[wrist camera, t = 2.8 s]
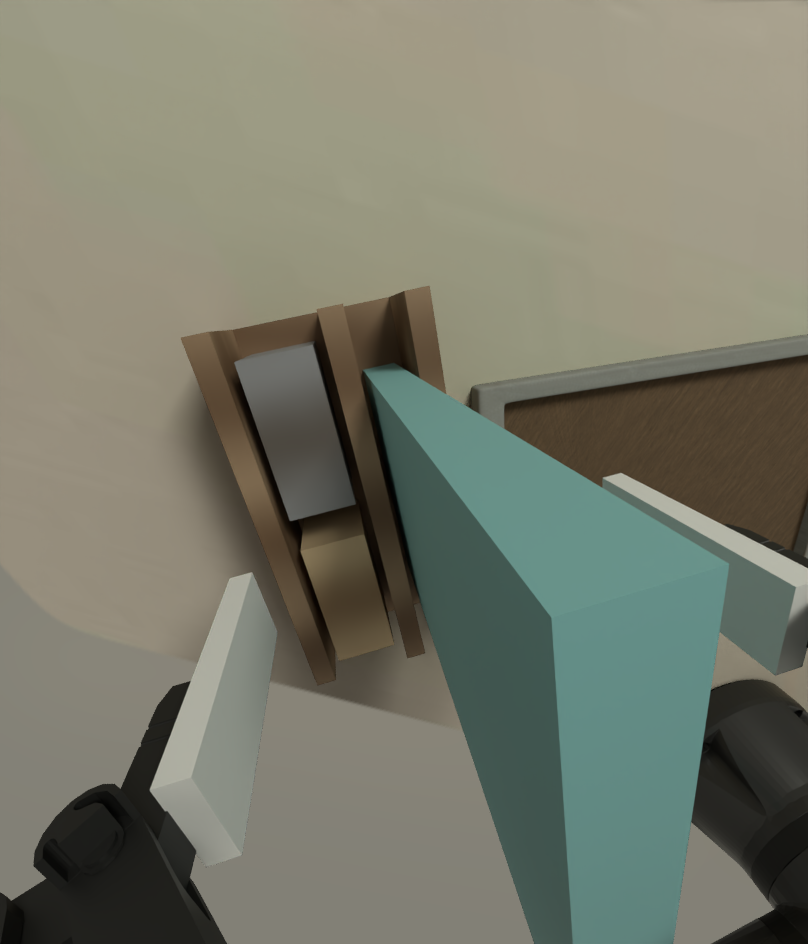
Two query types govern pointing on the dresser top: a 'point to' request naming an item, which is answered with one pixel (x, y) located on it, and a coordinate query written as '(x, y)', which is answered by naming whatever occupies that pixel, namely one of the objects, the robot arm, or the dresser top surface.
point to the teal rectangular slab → (559, 660)
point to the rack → (343, 360)
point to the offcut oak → (346, 581)
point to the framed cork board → (680, 429)
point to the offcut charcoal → (298, 428)
